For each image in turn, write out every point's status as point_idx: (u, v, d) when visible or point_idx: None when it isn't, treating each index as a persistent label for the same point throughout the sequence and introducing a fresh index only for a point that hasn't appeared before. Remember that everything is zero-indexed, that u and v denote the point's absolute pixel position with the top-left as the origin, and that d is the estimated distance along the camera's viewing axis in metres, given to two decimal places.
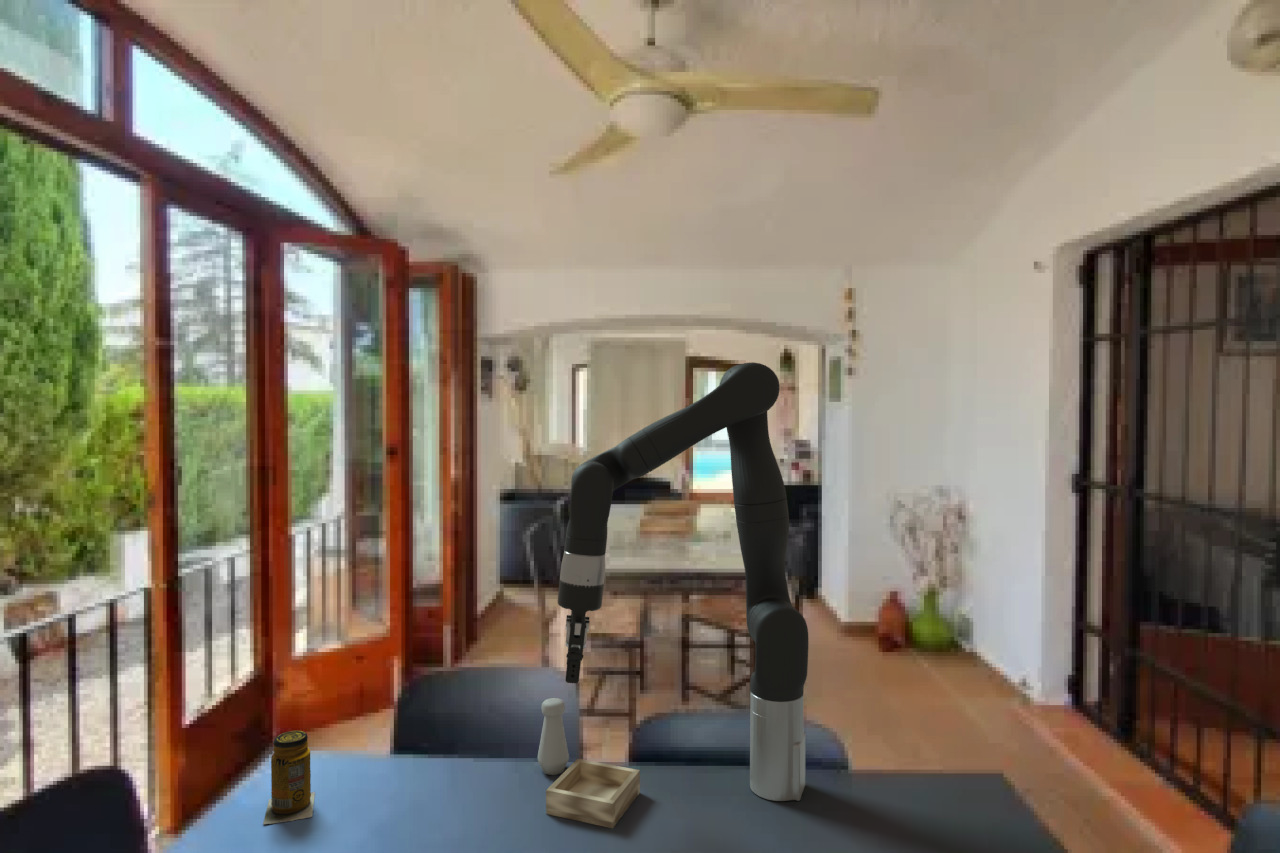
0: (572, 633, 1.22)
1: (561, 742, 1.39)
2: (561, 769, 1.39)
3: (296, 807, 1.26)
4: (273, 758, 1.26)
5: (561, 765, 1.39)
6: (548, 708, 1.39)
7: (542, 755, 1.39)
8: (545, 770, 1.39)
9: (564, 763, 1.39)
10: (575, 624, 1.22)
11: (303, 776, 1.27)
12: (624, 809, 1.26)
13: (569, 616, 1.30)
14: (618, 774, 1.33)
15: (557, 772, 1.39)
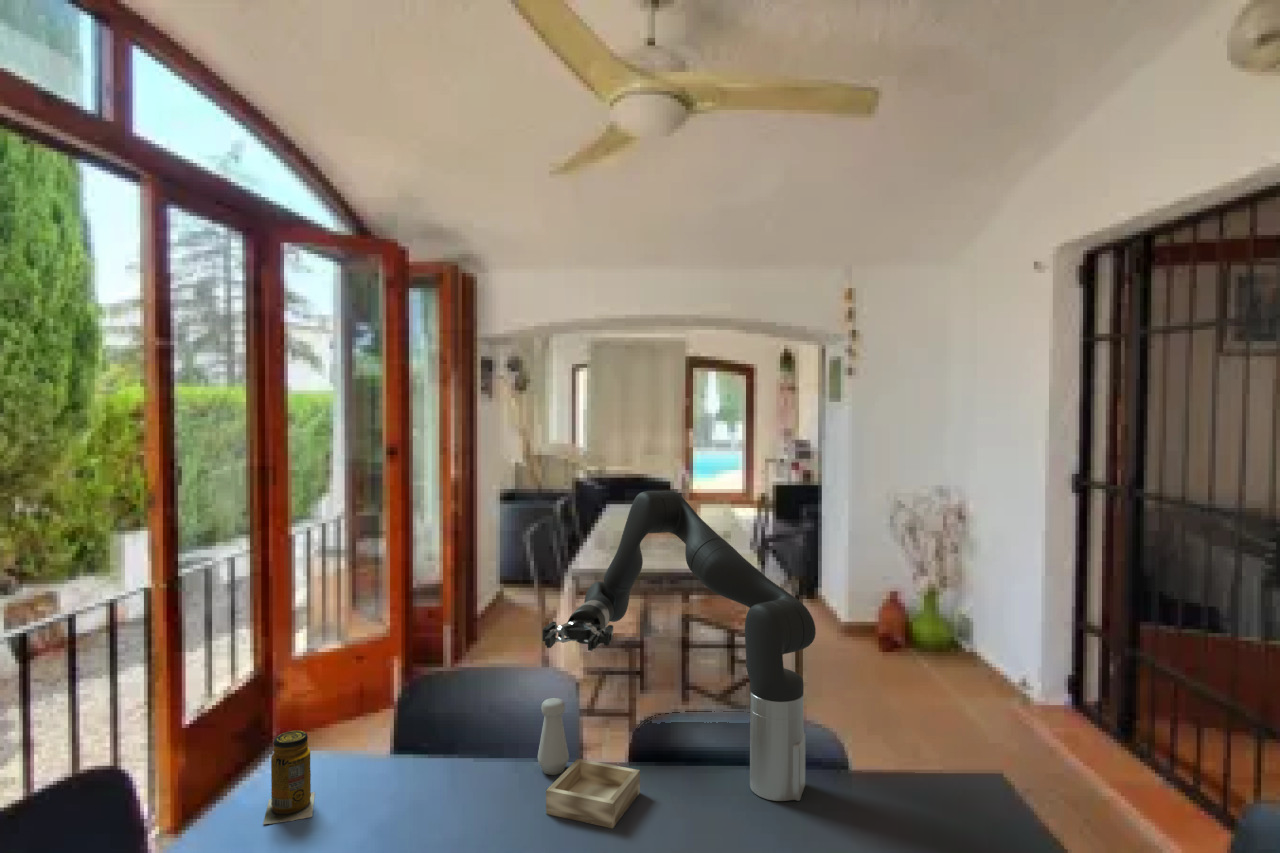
0: None
1: (561, 742, 1.39)
2: (561, 769, 1.39)
3: (296, 807, 1.26)
4: (273, 758, 1.26)
5: (561, 765, 1.39)
6: (547, 708, 1.39)
7: (542, 755, 1.39)
8: (545, 770, 1.39)
9: (564, 763, 1.39)
10: None
11: (303, 776, 1.27)
12: (624, 809, 1.26)
13: None
14: (618, 774, 1.33)
15: (557, 772, 1.39)
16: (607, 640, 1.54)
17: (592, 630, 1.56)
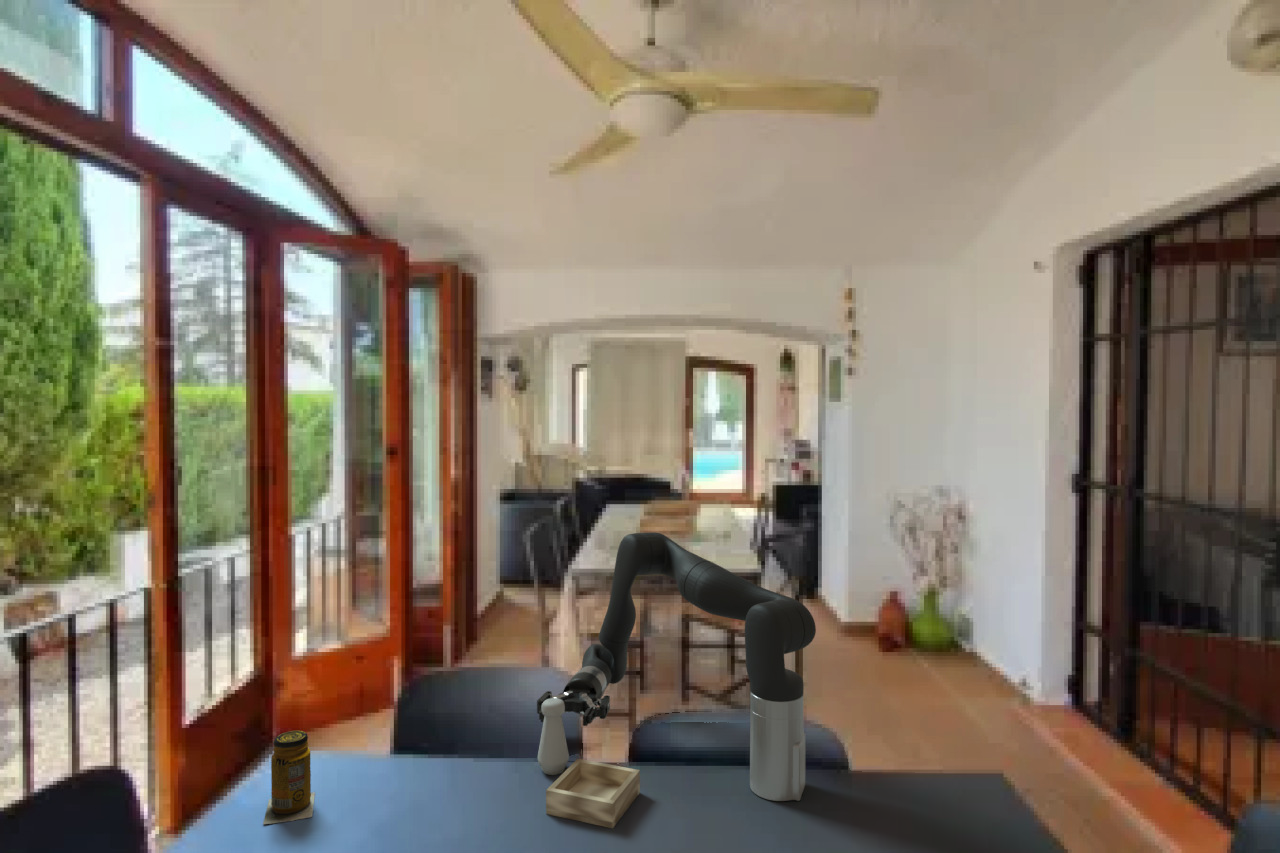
0: None
1: (561, 742, 1.39)
2: (561, 769, 1.39)
3: (296, 807, 1.26)
4: (273, 758, 1.26)
5: (561, 765, 1.39)
6: (547, 708, 1.39)
7: (542, 755, 1.39)
8: (545, 770, 1.39)
9: (564, 763, 1.39)
10: None
11: (303, 776, 1.27)
12: (624, 809, 1.26)
13: None
14: (618, 774, 1.33)
15: (557, 772, 1.39)
16: (603, 713, 1.50)
17: (588, 702, 1.52)
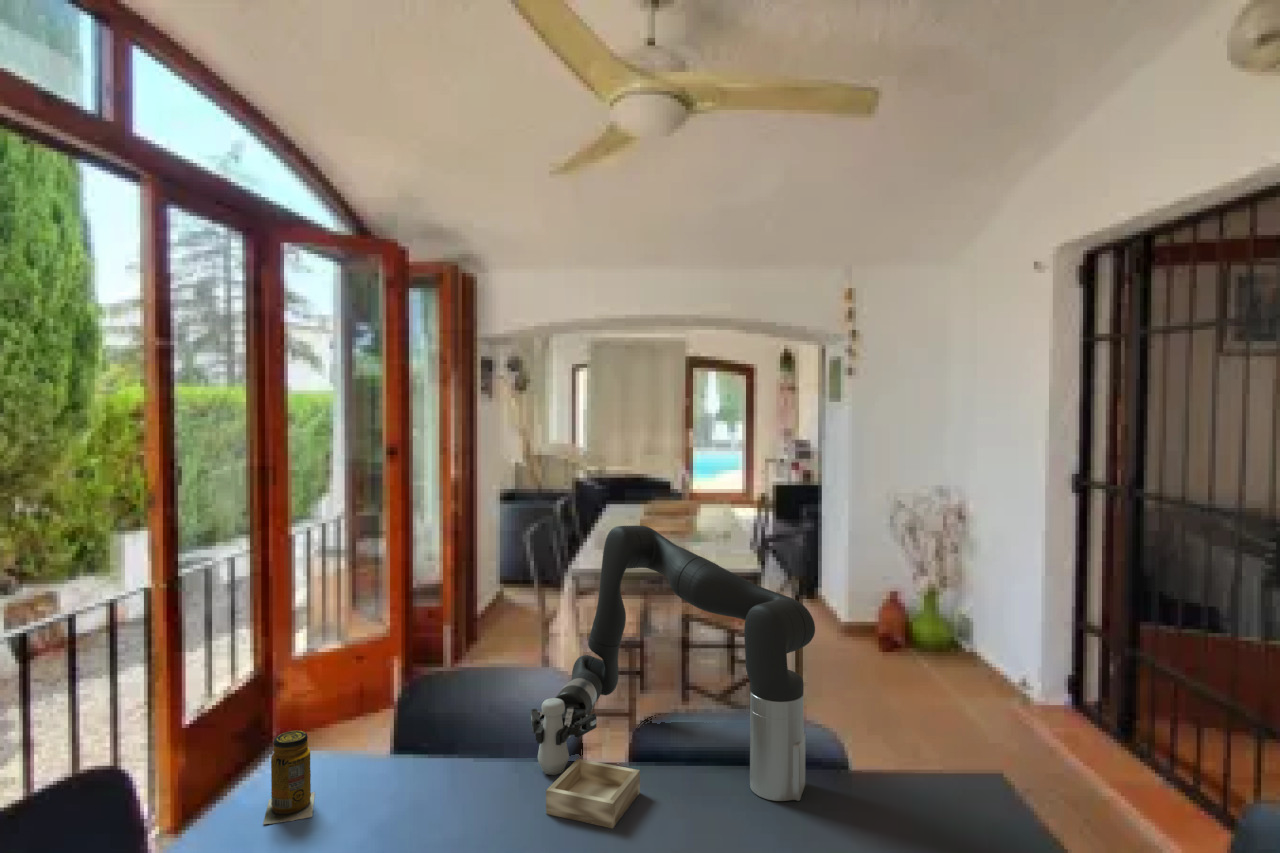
0: (531, 722, 1.47)
1: None
2: (561, 769, 1.39)
3: (296, 807, 1.26)
4: (273, 758, 1.26)
5: (561, 765, 1.39)
6: (548, 708, 1.39)
7: (542, 755, 1.39)
8: (545, 770, 1.39)
9: (564, 763, 1.39)
10: None
11: (303, 776, 1.27)
12: (624, 809, 1.26)
13: None
14: (618, 774, 1.33)
15: (557, 772, 1.39)
16: (577, 731, 1.42)
17: (566, 719, 1.43)
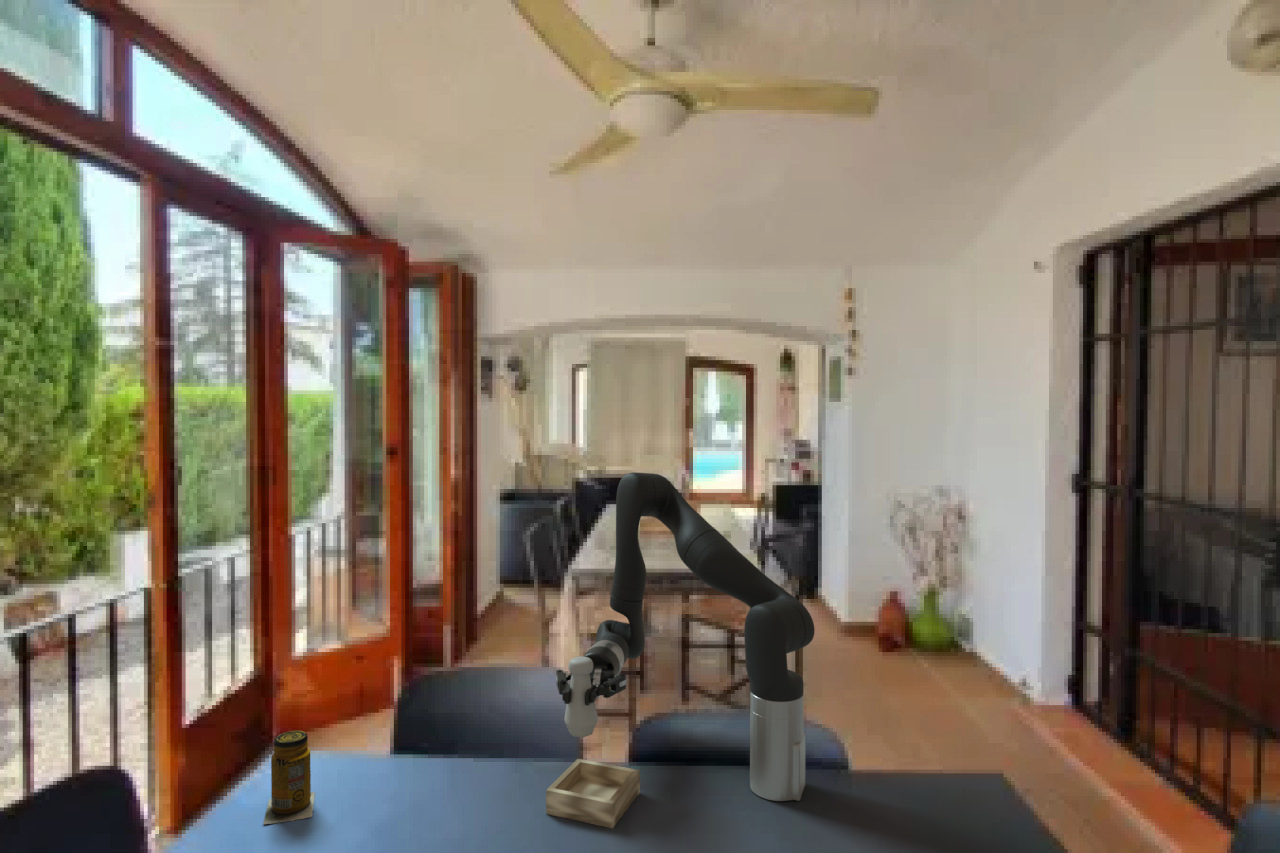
0: None
1: None
2: (590, 731, 1.31)
3: (296, 807, 1.26)
4: (273, 758, 1.26)
5: (590, 727, 1.30)
6: (575, 666, 1.30)
7: (570, 716, 1.30)
8: (573, 732, 1.31)
9: (593, 725, 1.31)
10: (556, 679, 1.40)
11: (303, 776, 1.27)
12: (624, 809, 1.26)
13: None
14: (618, 774, 1.33)
15: (586, 734, 1.31)
16: (606, 692, 1.33)
17: (594, 679, 1.35)
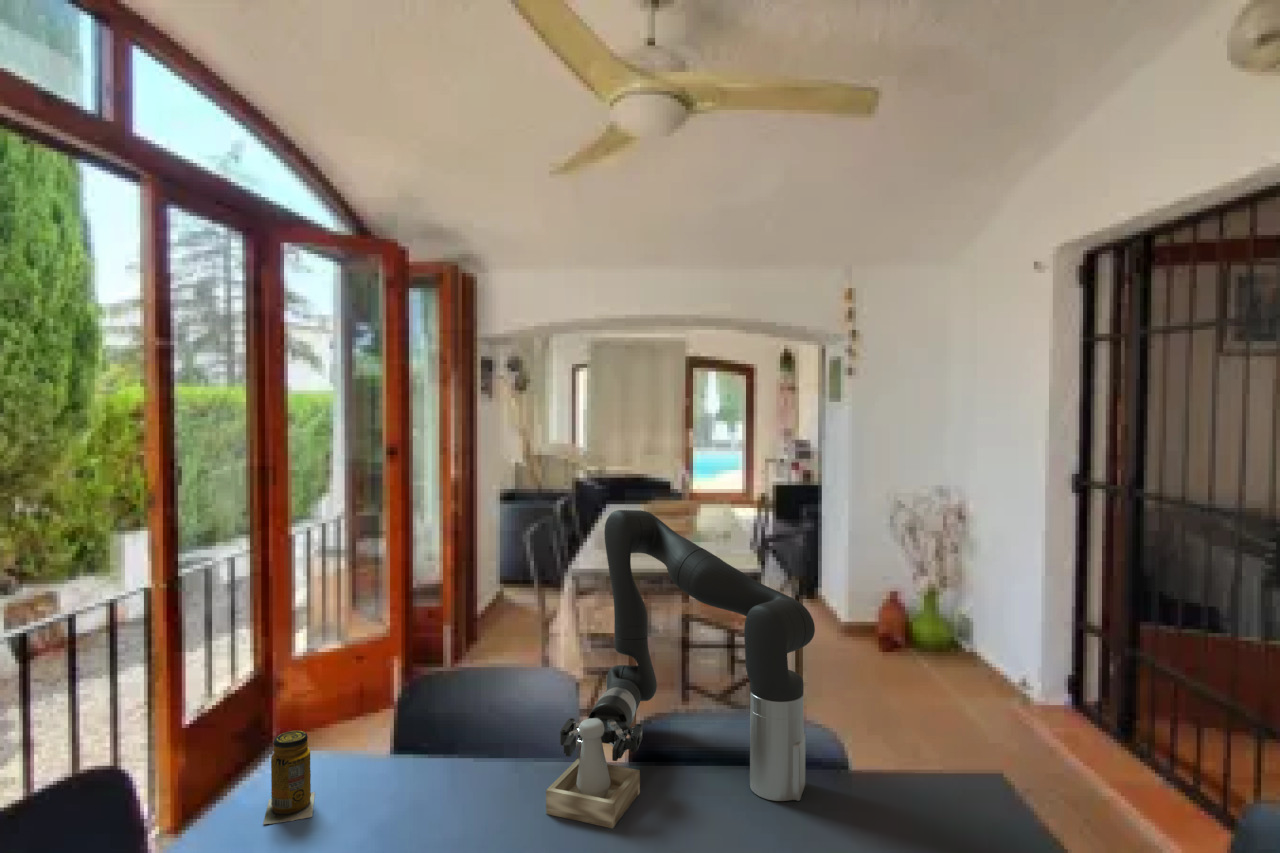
0: None
1: (602, 767, 1.28)
2: (603, 796, 1.28)
3: (296, 807, 1.26)
4: (273, 758, 1.26)
5: (603, 792, 1.27)
6: (586, 730, 1.27)
7: (582, 781, 1.27)
8: None
9: (606, 789, 1.28)
10: None
11: (303, 776, 1.27)
12: (624, 809, 1.26)
13: None
14: (618, 774, 1.33)
15: None
16: (634, 745, 1.30)
17: (617, 732, 1.32)
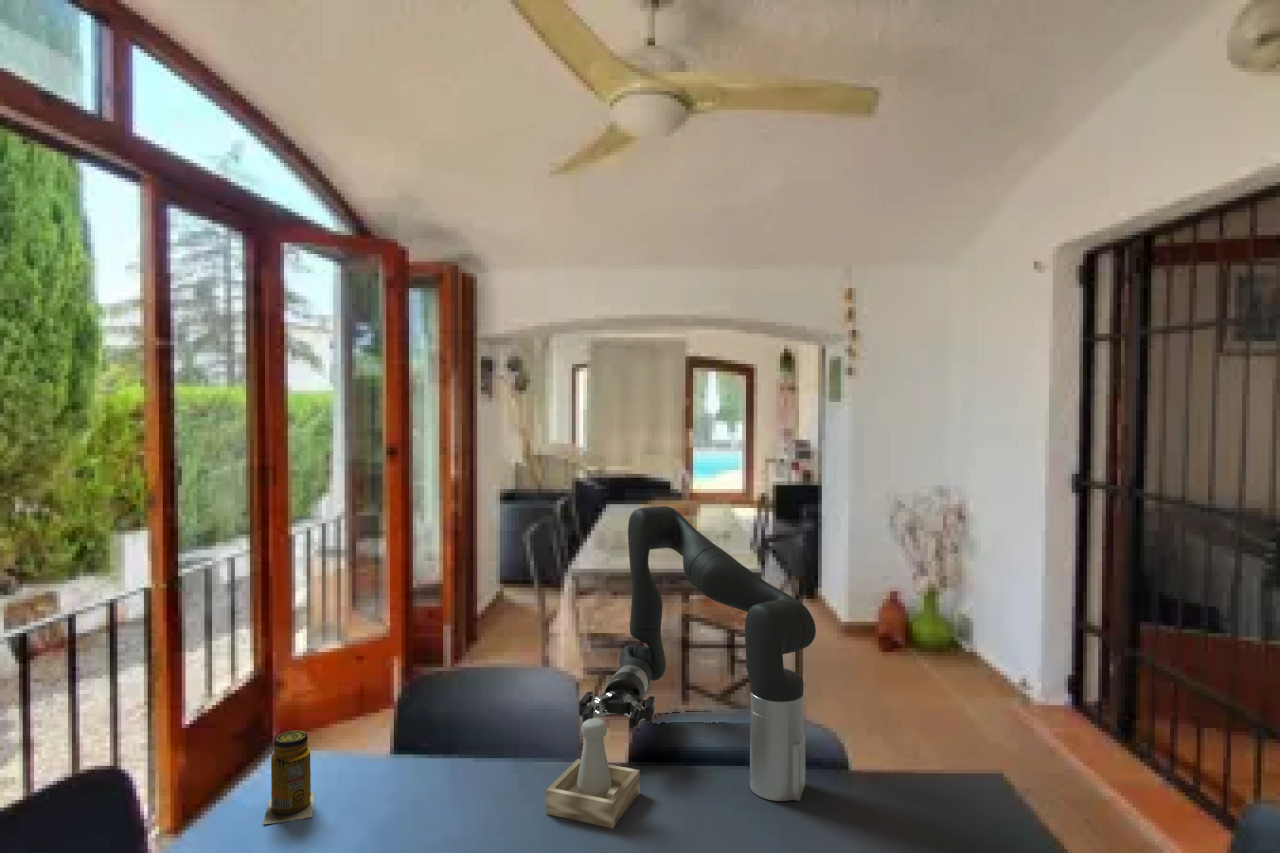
0: None
1: (604, 767, 1.28)
2: (603, 796, 1.28)
3: (296, 807, 1.26)
4: (273, 758, 1.26)
5: (603, 792, 1.27)
6: (589, 730, 1.27)
7: (583, 781, 1.27)
8: None
9: (606, 790, 1.28)
10: None
11: (303, 776, 1.27)
12: (624, 809, 1.26)
13: None
14: (618, 774, 1.33)
15: None
16: (649, 715, 1.43)
17: (633, 704, 1.44)
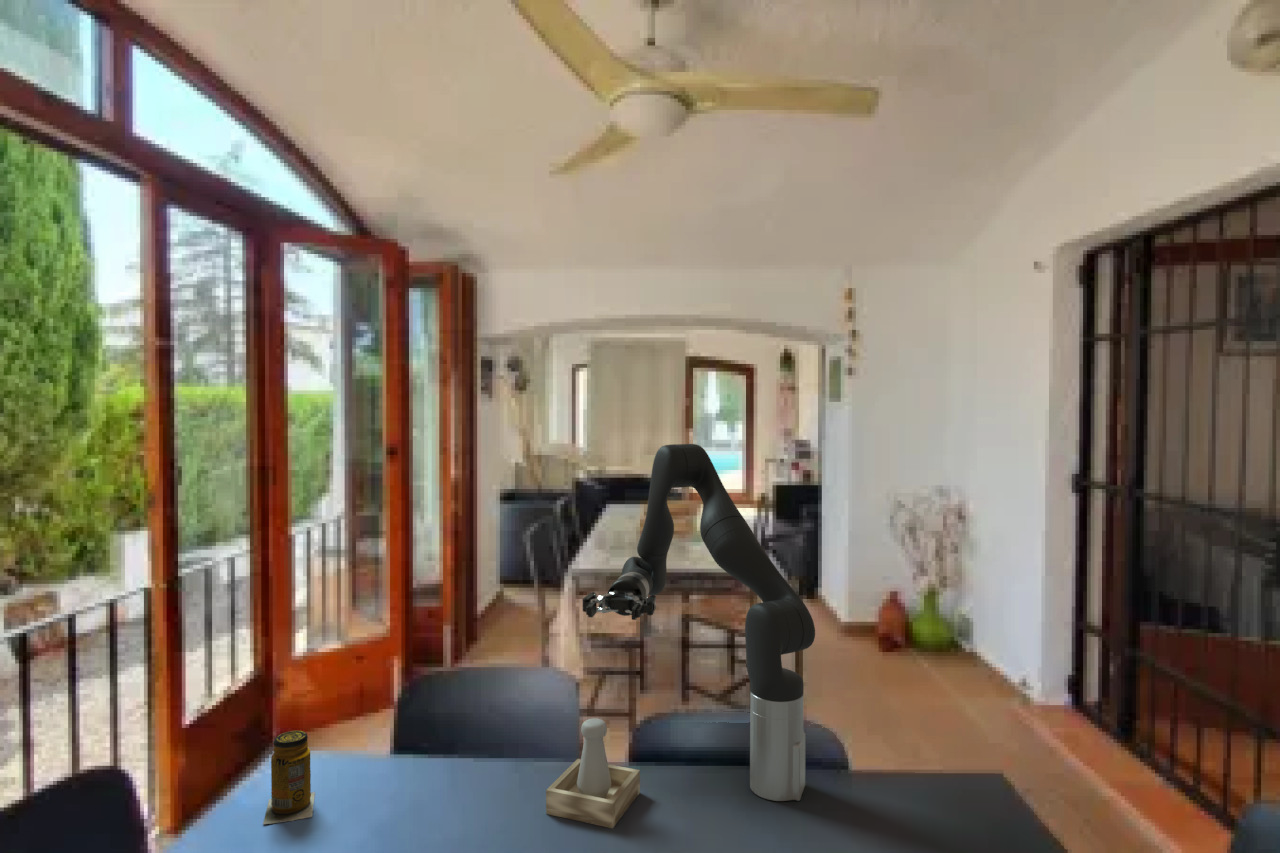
0: None
1: (604, 767, 1.28)
2: (603, 796, 1.28)
3: (296, 807, 1.26)
4: (273, 758, 1.26)
5: (603, 792, 1.27)
6: (589, 730, 1.27)
7: (583, 781, 1.27)
8: None
9: (606, 790, 1.28)
10: None
11: (303, 776, 1.27)
12: (624, 809, 1.26)
13: None
14: (618, 774, 1.33)
15: None
16: (651, 610, 1.48)
17: (634, 599, 1.50)
